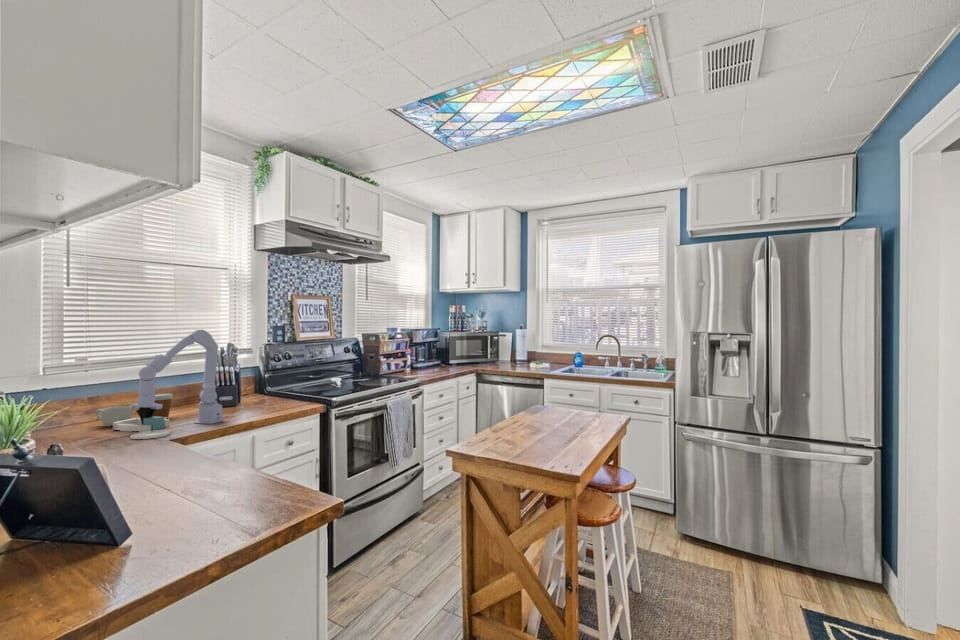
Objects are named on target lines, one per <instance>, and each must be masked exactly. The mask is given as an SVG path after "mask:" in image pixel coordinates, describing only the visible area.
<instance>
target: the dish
mask: <svg viewBox="0 0 960 640" xmlns="http://www.w3.org/2000/svg"><path fill="white" fill-rule="evenodd" d="M171 434H172V433H171V430H168V429H158V430H153V431H145V432H135V433H133V434H131V435H130V438H133V439H143V438H156V439H160V438H165V437H168V436H170V435H171Z"/></svg>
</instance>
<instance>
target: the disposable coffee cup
mask: <svg viewBox="0 0 960 640" xmlns="http://www.w3.org/2000/svg"><path fill="white" fill-rule="evenodd" d="M173 396H174V395H173V394H172V393H155V403H156V404H163V406H162V409H156V410H155V412H154V413H153V415H152V417H154V416H157V417H168V418H169V415H170V412H171V411H170V410H171V405H172V399H173Z"/></svg>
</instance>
